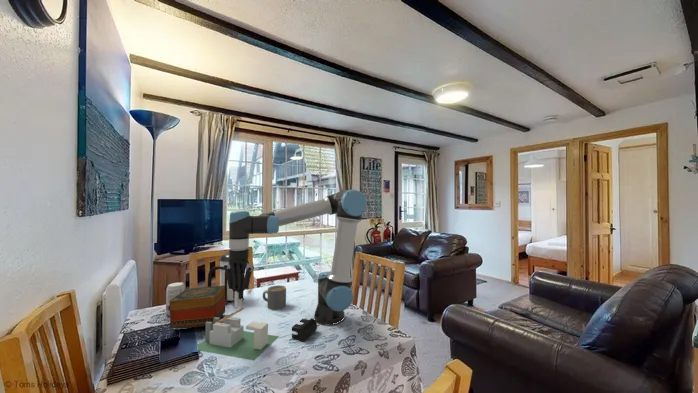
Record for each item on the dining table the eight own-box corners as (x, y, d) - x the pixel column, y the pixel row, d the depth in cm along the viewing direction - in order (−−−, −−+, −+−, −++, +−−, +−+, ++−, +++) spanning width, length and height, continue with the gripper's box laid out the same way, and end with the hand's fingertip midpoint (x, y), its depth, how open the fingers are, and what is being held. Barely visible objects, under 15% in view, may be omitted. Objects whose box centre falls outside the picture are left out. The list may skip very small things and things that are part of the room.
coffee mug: (289, 304, 155) (289, 286, 155) (278, 311, 146) (278, 292, 146) (270, 300, 161) (270, 283, 161) (258, 306, 152) (258, 288, 152)
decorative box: (212, 335, 122) (216, 297, 123) (160, 332, 120) (165, 294, 121) (229, 318, 142) (232, 285, 143) (185, 315, 140) (189, 282, 142)
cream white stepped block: (267, 343, 111) (267, 323, 111) (260, 349, 106) (260, 329, 107) (252, 340, 113) (252, 321, 113) (245, 347, 108) (245, 326, 108)
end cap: (305, 345, 112) (305, 329, 112) (291, 342, 115) (291, 325, 115) (317, 334, 122) (317, 319, 122) (303, 331, 124) (303, 316, 124)
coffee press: (224, 295, 170) (225, 246, 170) (249, 296, 168) (249, 247, 168) (206, 305, 153) (207, 251, 153) (233, 307, 150) (233, 252, 151)
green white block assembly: (279, 339, 117) (279, 317, 117) (254, 363, 100) (254, 338, 100) (223, 330, 124) (223, 310, 125) (191, 352, 107) (191, 328, 107)
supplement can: (162, 315, 140) (162, 285, 141) (177, 309, 148) (177, 281, 148) (173, 317, 137) (173, 287, 137) (188, 311, 145) (188, 283, 145)
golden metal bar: (244, 309, 113) (242, 306, 113) (240, 312, 110) (238, 309, 111) (214, 325, 117) (213, 322, 117) (209, 328, 114) (208, 325, 114)
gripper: (258, 248, 114) (257, 305, 114) (231, 246, 118) (230, 301, 117) (247, 251, 107) (246, 312, 107) (219, 249, 110) (218, 308, 110)
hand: (238, 306), depth 112 cm, fingers closed
